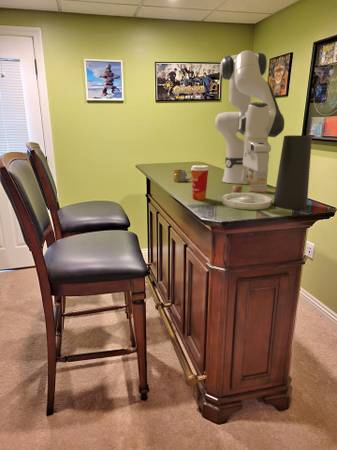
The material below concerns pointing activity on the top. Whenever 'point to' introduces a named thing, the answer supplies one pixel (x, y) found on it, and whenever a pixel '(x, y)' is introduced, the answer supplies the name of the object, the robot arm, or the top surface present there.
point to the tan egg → (250, 177)
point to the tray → (246, 201)
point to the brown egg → (236, 189)
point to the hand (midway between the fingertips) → (252, 179)
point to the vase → (293, 173)
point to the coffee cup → (199, 181)
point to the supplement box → (260, 183)
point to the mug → (180, 175)
